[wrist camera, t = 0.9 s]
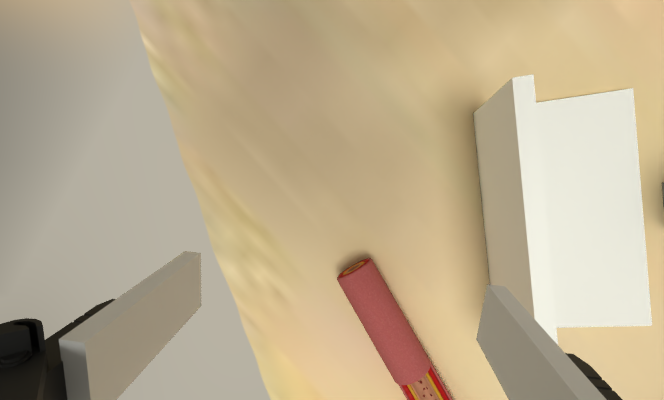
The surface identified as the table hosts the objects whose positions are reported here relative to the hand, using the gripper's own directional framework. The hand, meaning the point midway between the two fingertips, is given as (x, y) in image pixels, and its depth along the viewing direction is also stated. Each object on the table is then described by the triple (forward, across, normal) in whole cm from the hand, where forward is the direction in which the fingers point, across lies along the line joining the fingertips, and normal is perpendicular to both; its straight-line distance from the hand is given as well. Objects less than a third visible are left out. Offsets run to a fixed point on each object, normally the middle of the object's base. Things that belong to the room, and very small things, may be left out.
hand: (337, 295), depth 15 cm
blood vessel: (+24, +13, -27) cm, 38 cm away
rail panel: (+25, +24, -1) cm, 35 cm away
